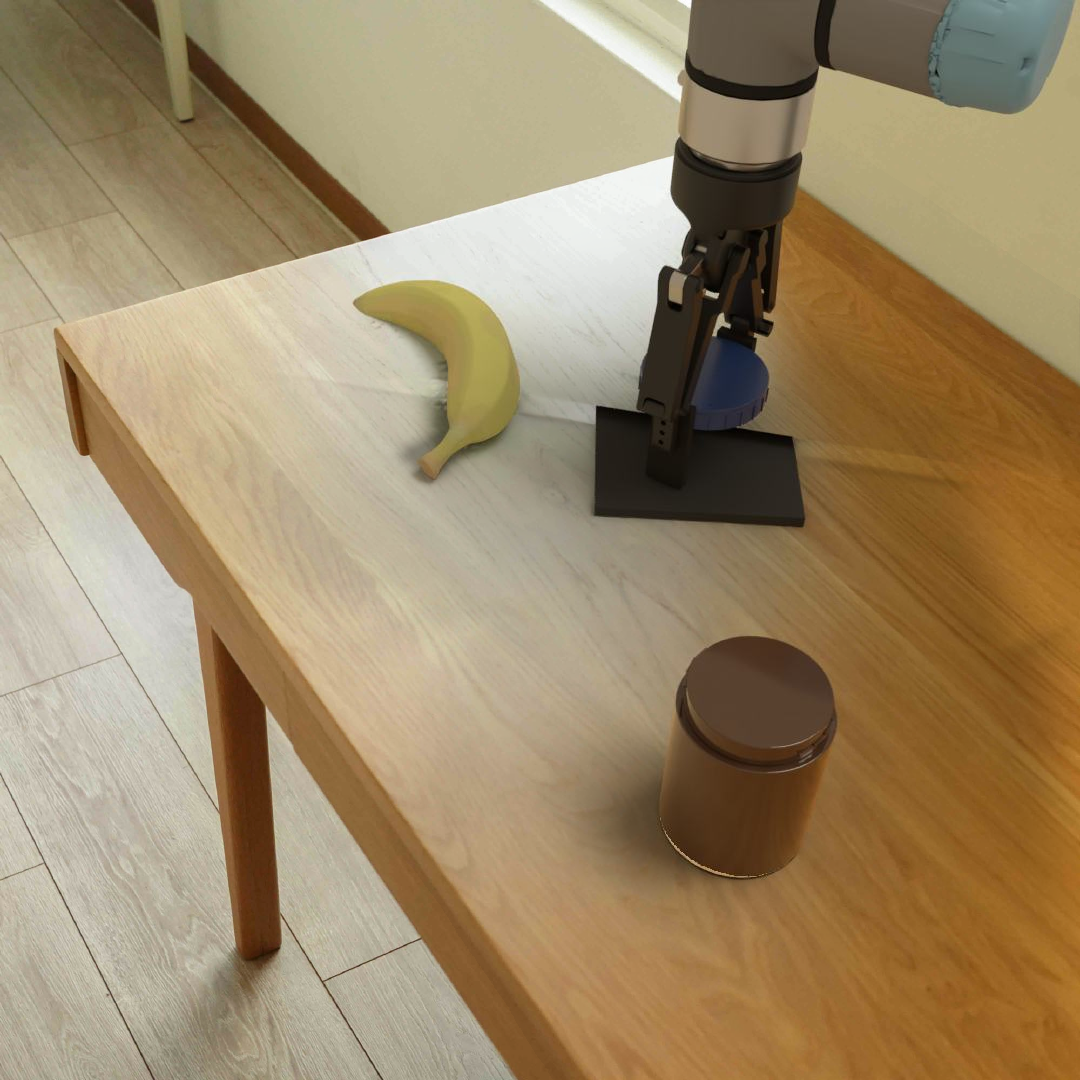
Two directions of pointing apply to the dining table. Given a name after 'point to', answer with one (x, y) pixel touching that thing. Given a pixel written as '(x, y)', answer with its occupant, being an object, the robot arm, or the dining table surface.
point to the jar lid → (728, 386)
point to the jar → (746, 754)
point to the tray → (697, 475)
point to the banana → (456, 357)
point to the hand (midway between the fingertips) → (696, 442)
